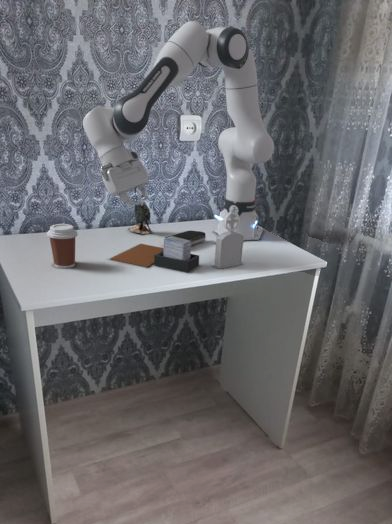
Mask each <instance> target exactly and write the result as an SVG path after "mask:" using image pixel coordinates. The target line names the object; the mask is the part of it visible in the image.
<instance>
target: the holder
mask: <svg viewBox="0 0 392 524" xmlns="http://www.w3.org/2000/svg"><path fill="white" fill-rule="evenodd" d="M153 266H154V267H158V268H164V269H168V270H173V271H177V272H183V273H187V274H189V273H190V272H192V271H193V270H194V269H197V267H199V266H200V254H194V253H191V255H190V260H189V261H184V260H179V259H175V258H170V257H165V256H164V250H163V251H161V252H159V253H158V254H156V255H154V264H153Z"/></svg>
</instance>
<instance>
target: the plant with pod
mask: <svg viewBox="0 0 392 524" xmlns="http://www.w3.org/2000/svg"><path fill="white" fill-rule="evenodd" d="M133 190H134V196H135V202H136V203H134V218H135V222H136V223H137V224H134V225H133V227H129V228H128V230H129V231H131V232H132V233H134V234H135V233H136V234H141V235H149V234H152V232H153V230H152V228H150V225H149V222H148V221H150V220H151V215H152V213H151V210H150V208H149V206H148V205H147V204H146V203H145V201H139V202H138V198H137V197H138V195H137V188H134V189H133ZM144 222H145V224H146V225H145V224H144Z"/></svg>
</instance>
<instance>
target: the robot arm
mask: <svg viewBox="0 0 392 524" xmlns="http://www.w3.org/2000/svg"><path fill="white" fill-rule="evenodd" d="M198 65H199V66H201V67H203V68H212V69H220V68H221V69H222V71H223V74H224V89H225V101H226V102H225V103H226V111H227V114H228V117H230V118H231V121H232V122H233V125H234V126H233V127H229V128H226V129H225V128H224V130H222V132H220V134H219V137H218V140H217V147H218V149H219V151H220V153H221V155H222V157H223V161H224V166H225V171H226V173H225V174H226V186H225V187H226V188H225V189H226V190H225V197H224V201H223V209H222V210H221V211H220V212H219V216H218V215H216V214H214V218H216V219H217V220H218V225H217V228H215V229H214V233H215V234H217V235H218V236H219V235H220V234H222V233H224V232H227V231H228V230H227V229H226V228H225V227H224V224H223V222H224V218H225V216H226V214H227V213H229V212H230V210H235V212H236V213H238V215H239V217H240V222H239V225H238V227H237V228H236V229H235V230H233V232H236V233H239V234H241V235H243V236H244V239H243V241H253V240H254V241H259V240H260V239H261V237H262V235H263V232H264V228H262V227H260V226H259V223H260V217H259V215H258V213H257V212H256V205H257V203H258V199H257V198H255V197H256V188H257V177H256V176H255V174H254V172H253V169H252V165H256V164H257V165H259V164H264V163H267V162H268V161H270V159H271V158H272V156H273V154H274V151H275V143H274V142H275V141H274V139H273V138H272V136H271V135H270V134H269V133H268V131H267V129H266V127H265V124H264V121H263V118H262V115H261V110H260V105H259V104H260V103H259V100H260V99H259V85H258V83H259V82H258V73H257V66H256V61H255V57H254V54H253V52H252V51H251V50H250V49H249V42H248V40H247V36H246V35H245V33H244V31H242V30H241V29H240V28H238V27H235V26H228V27H227V26H217V27H213V28H210V29H209V28H208V29H205V27H204V26H203V25H202V24H201V23H199V22H198V21H195V20H189V21H187V22H185V23H184V24H183V25H181V26H180V27H179V28H178V29H177V30H176V31H175V32H174V33H173V34H172V35H171V36H170V37H169V39H168V40H167V41H166V43H165V44H164V45H163V46H162V48H161V49H160V51H159V53H158V55H157V56H156V58H155V60H154V63H153V67H152V69H151V71H150V72H149V73H148V74H147V76H145V78H143V81H141V83H140V84H139V85H138V86H137V88H136V89H135V90H133V91H132V92H130V93H127V94H126V95H124V96H122V97H120V98H119V99H118V100H117V101H116V103H115V105H114V107H106V106H102V105H96V106H94V107H92V108H91V109H89V110H88V111H87V112H86V114H85V115H84V116H83V118H82V127H83V130H84V133H85V135H86V136H87V139H88V141H89V143H90V144H91V146H92V148H93V149H95V151H96V153H97V156H98V158H99V161H100V163H101V164H102V166H100V174H101V179H102V183H103V184H104V186H105V188H106V190H107V193H108V194H109V195H110V197H112V198H114V197H117V196H119V199H121V200H122V201H123V202H124V203H125V204H126V206H127V208H130V207H132V206H135V202H134V200H133V198H130V197H129V195H128V193H127V192H129V191H132V190H135V189H134V188H136V189H137V190H138V191H139V192H140V193H139V194H140V195H139V197H140V198H141V200H142V201H146V200H147V199H149V195H148V193H147V186H146V185H145V184H147V183H148V182H149V181H150V177H149V175H148V173H147V171H146V169H145V166H144V165H143V163H142V161H141V160H139V159H140V156H139V154H138V152H136V151H133V150H131V149H129V148H127V147H126V146H125V144H128V143H131V142H133V141H137V140H138V139H139V138H140V137H141V136H142V135H143V132H144V129H145V128H146V127H147V125H148V122H149V119H150V114H151V110H152V108H153V106H155V104H156V103H157V101H158V100H159V99H160V98H161V96H162V95H163V94H164V93H165V91H166V90H167V89H168V88H170V87H178V86H180V85H181V84H183V82H184V81H186V80H187V79H188V78H189V76H191V74H192V73H193V71H194V70H195V69H196V67H197V66H198ZM234 219H236V216H235V218H234ZM228 220H229V218H228ZM234 225H235V223H234ZM227 226H228V228H229V223H228V224H227Z"/></svg>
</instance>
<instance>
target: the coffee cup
mask: <svg viewBox="0 0 392 524" xmlns="http://www.w3.org/2000/svg"><path fill="white" fill-rule="evenodd" d="M46 236H47V237H49V242H50V249H51V253H52V259H53V266H54V267H56V268H57V269H58V268H59V269H69V268H73V267H74V266H76V237H78V231H77V230H76V229H75V227H74V226H73V225H72V224H69V223H55V224H51V225H50V226H49V230H48V231H47V232H46Z"/></svg>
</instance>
